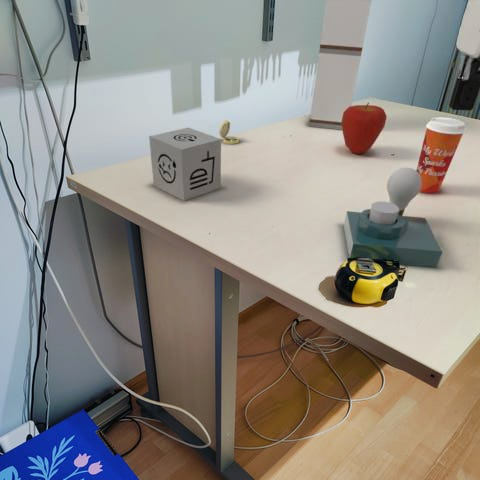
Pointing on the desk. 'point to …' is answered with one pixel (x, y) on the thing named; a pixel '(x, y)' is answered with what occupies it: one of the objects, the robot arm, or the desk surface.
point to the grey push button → (383, 213)
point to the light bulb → (403, 187)
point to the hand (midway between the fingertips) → (460, 108)
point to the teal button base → (392, 239)
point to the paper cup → (438, 151)
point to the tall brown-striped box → (338, 60)
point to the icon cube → (186, 162)
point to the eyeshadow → (224, 131)
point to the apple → (362, 126)
